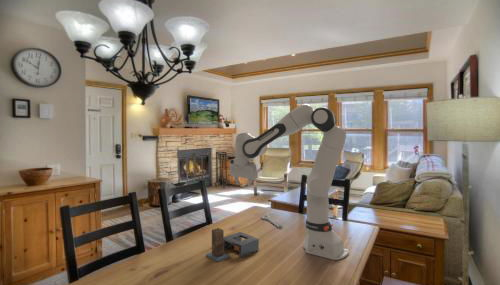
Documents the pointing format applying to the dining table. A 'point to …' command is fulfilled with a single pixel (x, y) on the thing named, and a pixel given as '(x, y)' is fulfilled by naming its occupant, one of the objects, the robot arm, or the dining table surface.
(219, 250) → the brown block
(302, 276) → the dining table surface
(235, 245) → the button
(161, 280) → the dining table surface
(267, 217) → the adjustable wrench
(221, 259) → the pad
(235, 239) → the guard
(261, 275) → the dining table surface
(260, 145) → the robot arm
